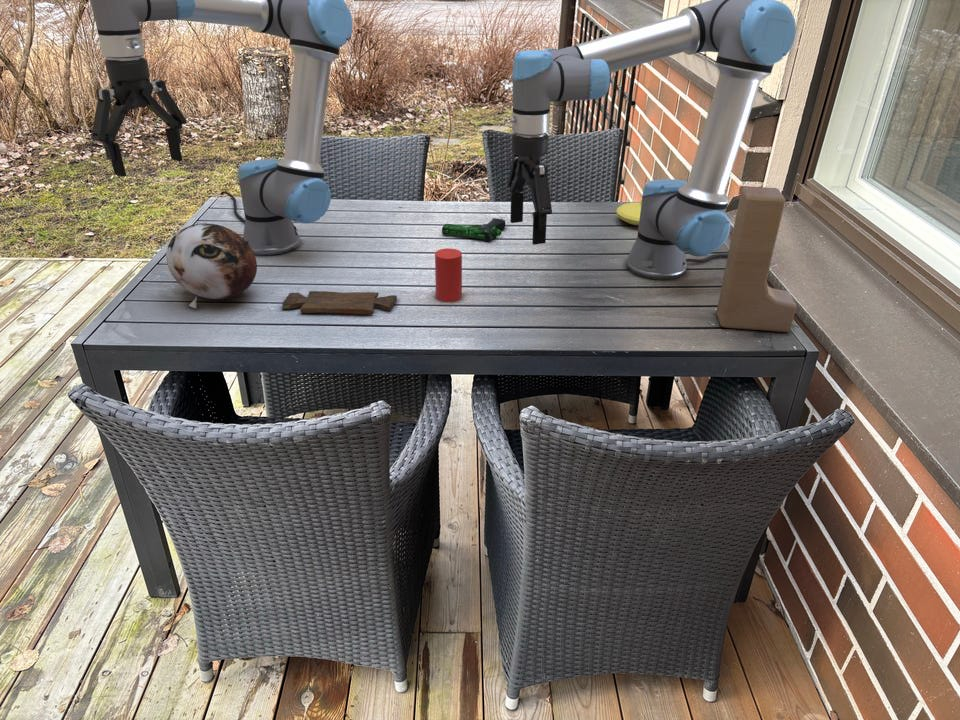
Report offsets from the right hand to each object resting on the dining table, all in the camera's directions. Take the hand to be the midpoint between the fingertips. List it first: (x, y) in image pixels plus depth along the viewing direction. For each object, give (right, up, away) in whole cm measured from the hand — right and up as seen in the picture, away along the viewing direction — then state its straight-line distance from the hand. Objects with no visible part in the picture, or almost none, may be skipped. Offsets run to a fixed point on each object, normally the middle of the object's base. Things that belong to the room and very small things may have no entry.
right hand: (527, 232), depth 156 cm
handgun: (-11, +9, +51) cm, 53 cm away
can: (-18, -13, +14) cm, 26 cm away
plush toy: (-72, -13, +13) cm, 75 cm away
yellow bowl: (+39, +14, +60) cm, 73 cm away
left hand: (-79, +12, -8) cm, 80 cm away
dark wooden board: (-43, -15, +9) cm, 47 cm away
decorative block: (+51, -20, +4) cm, 55 cm away
